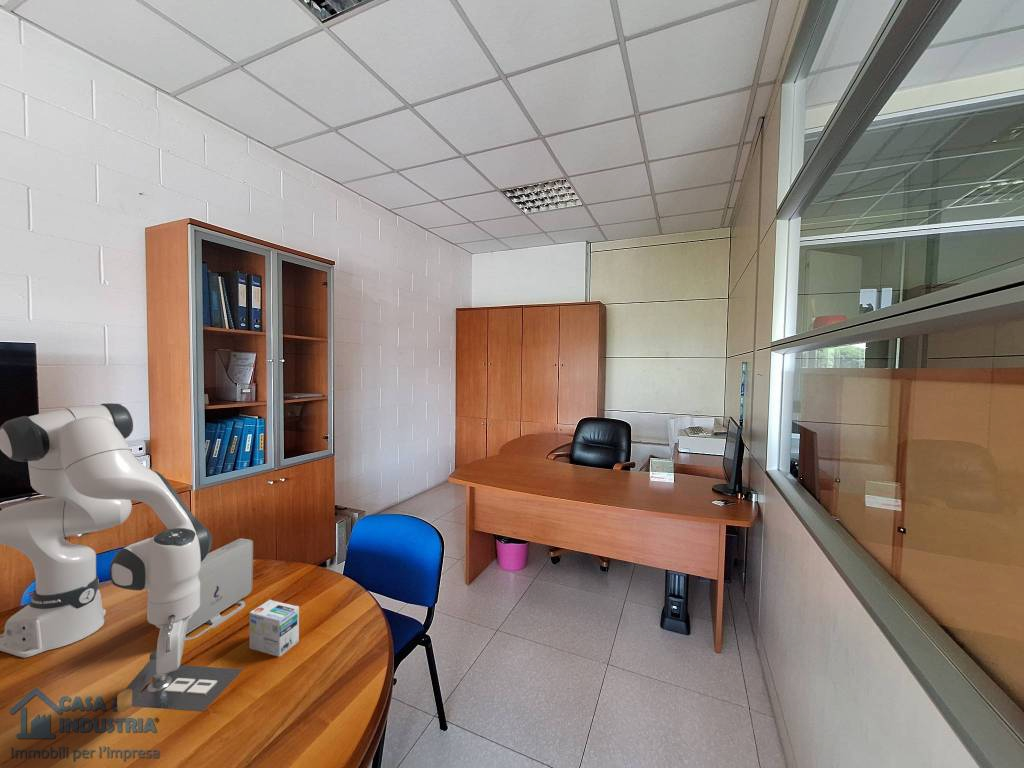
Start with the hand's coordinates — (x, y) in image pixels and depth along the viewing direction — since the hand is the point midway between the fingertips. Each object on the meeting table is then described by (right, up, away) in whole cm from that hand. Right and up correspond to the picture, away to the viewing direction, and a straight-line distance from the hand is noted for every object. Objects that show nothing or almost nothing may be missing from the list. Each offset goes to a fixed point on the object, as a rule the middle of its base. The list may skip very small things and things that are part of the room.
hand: (174, 664), depth 86 cm
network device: (-16, -9, +30) cm, 35 cm away
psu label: (-4, -9, +6) cm, 12 cm away
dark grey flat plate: (-2, -10, +6) cm, 12 cm away
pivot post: (-9, -10, +6) cm, 15 cm away
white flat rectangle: (+2, -10, +6) cm, 11 cm away
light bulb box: (+10, -10, +20) cm, 25 cm away
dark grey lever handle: (-7, -5, 0) cm, 8 cm away
